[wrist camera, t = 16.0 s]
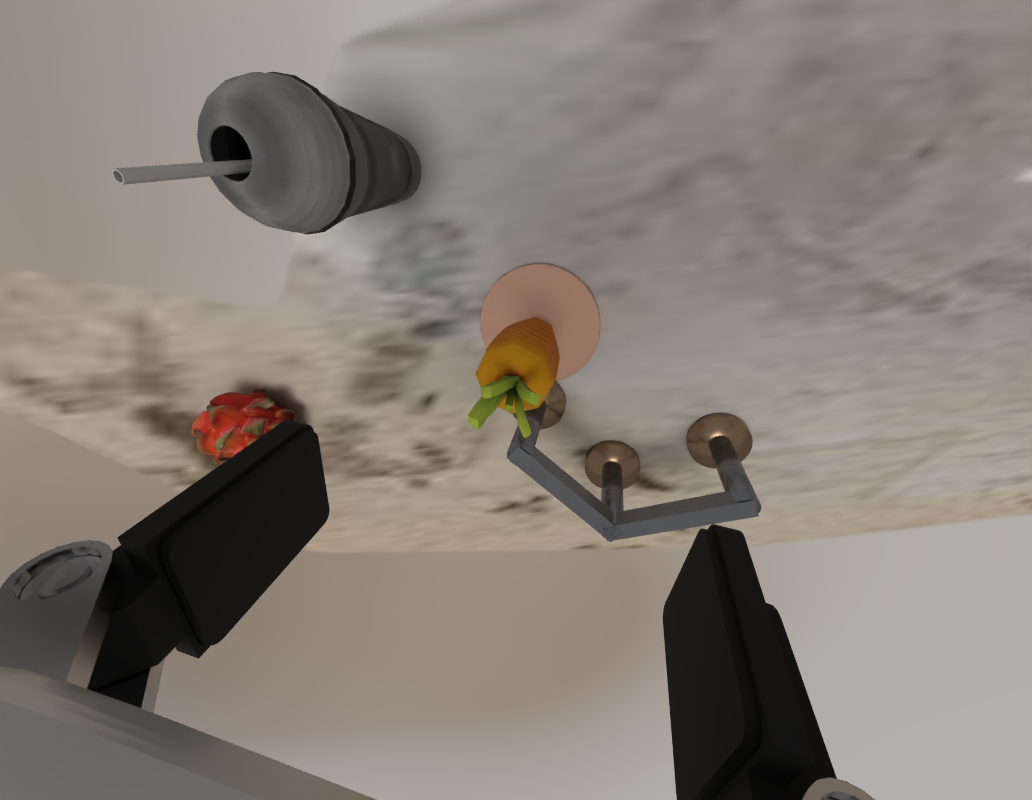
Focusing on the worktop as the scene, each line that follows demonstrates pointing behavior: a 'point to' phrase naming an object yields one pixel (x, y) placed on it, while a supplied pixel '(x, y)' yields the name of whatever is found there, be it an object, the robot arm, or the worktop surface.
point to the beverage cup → (292, 155)
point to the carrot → (517, 371)
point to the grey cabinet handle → (618, 468)
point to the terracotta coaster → (546, 310)
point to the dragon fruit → (236, 423)
